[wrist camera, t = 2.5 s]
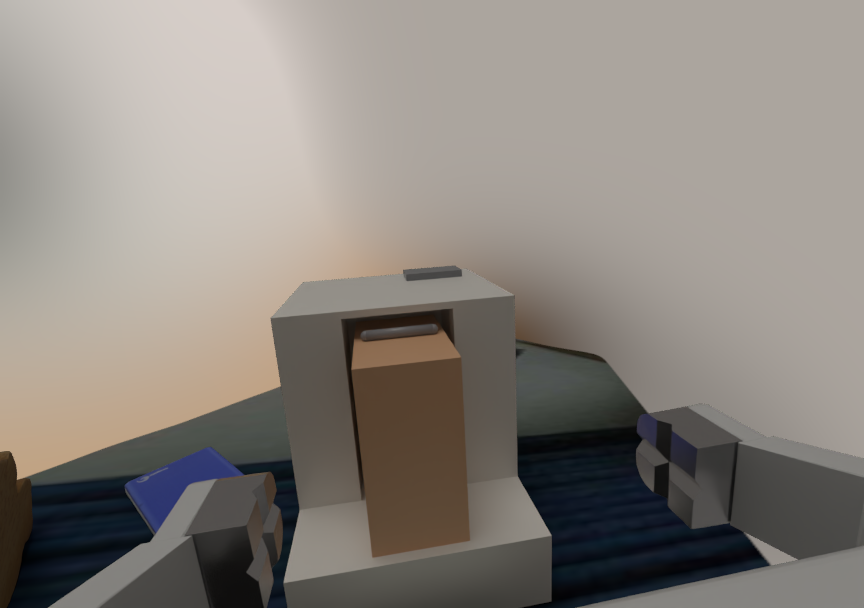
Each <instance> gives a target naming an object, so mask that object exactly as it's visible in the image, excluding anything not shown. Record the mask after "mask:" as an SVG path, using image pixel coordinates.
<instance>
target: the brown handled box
mask: <svg viewBox="0 0 864 608" xmlns="http://www.w3.org/2000/svg"><path fill="white" fill-rule="evenodd" d="M351 371H352V380H353V389H354V398H355V407H356V416H357V425H358V434H359V443H360V452H361V461H362V470H363V479H364V488H365V497H366V506H367V515H368V524H369V533H370V542H371V551H372V558H374V557H380V556H386V555H391V554H397V553H403V552H409V551H414V550H420V549H426V548H431V547H437V546H443V545H449V544H454V543H460V542H466V541H470V530H469V509H468V488H467V467H466V446H465V425H464V404H463V383H462V362H461V356H460V355H459V353H458V352H457V350H456V348H455V347H454V345H453V344H452V342H451V341H450V339H449V338H448V336H447V335H446V333H445V332H444V330H443V329H442V327H441V326H440V324H439V323H438V321H437V319H436V318H435V316H434V315H423V316H413V317H402V318H392V319H382V320H371V321H361V322H356V327H355V337H354V348H353V358H352V369H351Z"/></svg>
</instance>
